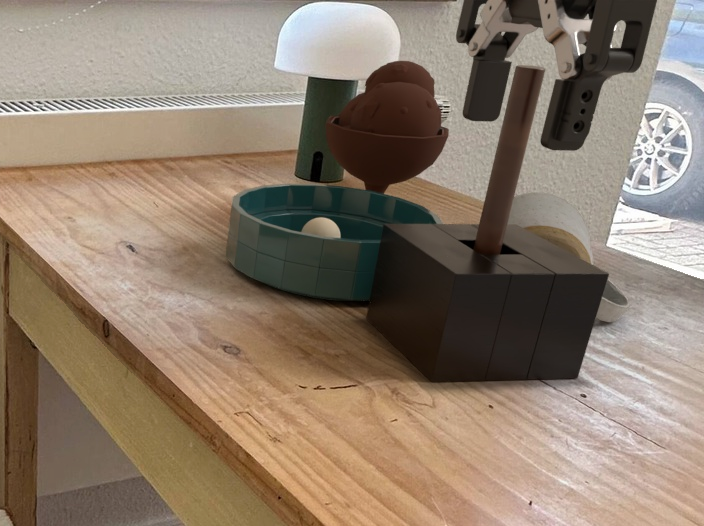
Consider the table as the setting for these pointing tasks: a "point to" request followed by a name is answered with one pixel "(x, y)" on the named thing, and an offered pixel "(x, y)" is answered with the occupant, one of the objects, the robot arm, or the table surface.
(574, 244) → the ceramic mug
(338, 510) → the table surface
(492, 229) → the stick
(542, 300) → the holder
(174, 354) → the table surface
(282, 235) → the bowl
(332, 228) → the dough ball
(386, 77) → the ice cream bowl
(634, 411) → the table surface
